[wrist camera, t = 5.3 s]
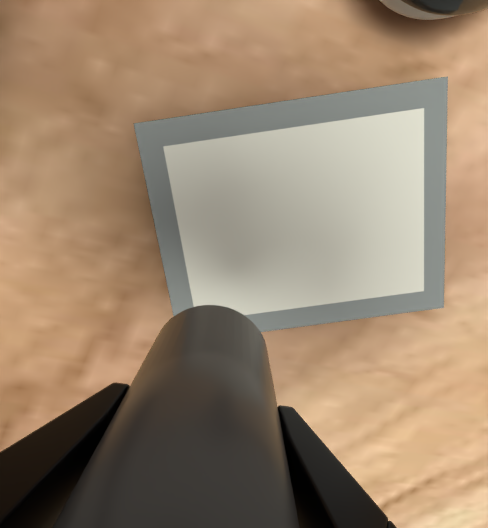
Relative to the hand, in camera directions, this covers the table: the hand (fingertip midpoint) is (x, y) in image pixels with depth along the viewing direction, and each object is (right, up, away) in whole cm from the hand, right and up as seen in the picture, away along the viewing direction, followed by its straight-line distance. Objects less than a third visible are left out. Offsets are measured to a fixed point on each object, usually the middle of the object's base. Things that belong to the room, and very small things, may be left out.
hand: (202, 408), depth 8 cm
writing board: (+5, +7, +12) cm, 14 cm away
